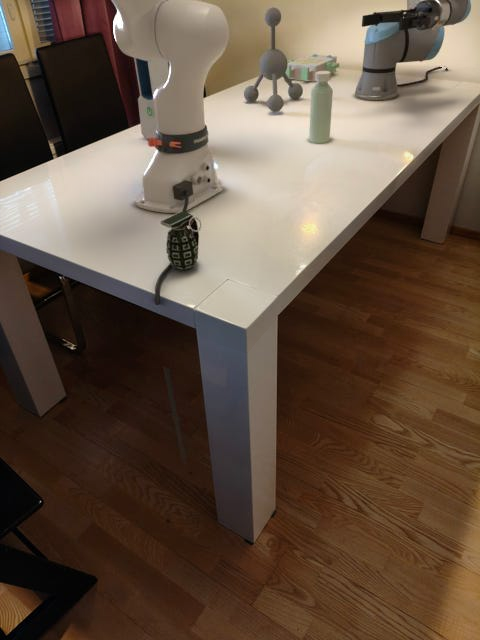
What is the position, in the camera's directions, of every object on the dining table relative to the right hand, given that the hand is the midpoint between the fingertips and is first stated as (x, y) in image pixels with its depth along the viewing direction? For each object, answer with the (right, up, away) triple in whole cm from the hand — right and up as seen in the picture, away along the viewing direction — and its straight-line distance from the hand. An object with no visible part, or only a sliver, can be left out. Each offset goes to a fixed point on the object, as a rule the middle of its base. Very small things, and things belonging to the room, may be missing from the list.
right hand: (381, 22), depth 136 cm
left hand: (-42, +5, -23) cm, 48 cm away
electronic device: (-64, -26, +16) cm, 71 cm away
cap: (-17, -16, -3) cm, 23 cm away
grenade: (-50, -73, -45) cm, 100 cm away
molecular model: (-26, -4, +42) cm, 49 cm away
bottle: (-16, -30, +8) cm, 35 cm away
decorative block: (-9, +23, +75) cm, 79 cm away
